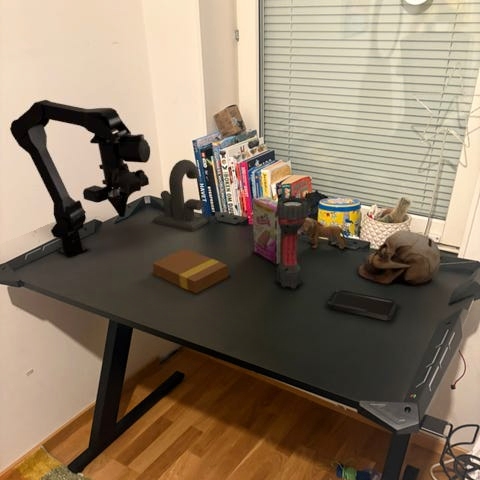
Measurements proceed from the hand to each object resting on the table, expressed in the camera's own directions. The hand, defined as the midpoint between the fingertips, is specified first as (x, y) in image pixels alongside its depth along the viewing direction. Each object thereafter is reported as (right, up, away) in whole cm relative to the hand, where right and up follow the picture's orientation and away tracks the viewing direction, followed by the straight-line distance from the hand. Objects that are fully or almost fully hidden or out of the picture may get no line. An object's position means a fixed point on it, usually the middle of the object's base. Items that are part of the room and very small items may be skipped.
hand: (122, 216), depth 137 cm
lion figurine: (+58, -7, +9) cm, 60 cm away
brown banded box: (+13, -13, 0) cm, 18 cm away
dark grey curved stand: (+15, +6, +32) cm, 36 cm away
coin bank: (+75, -18, -8) cm, 77 cm away
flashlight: (+47, -20, -10) cm, 52 cm away
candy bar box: (+42, -11, +5) cm, 44 cm away
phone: (+63, -26, -20) cm, 71 cm away
